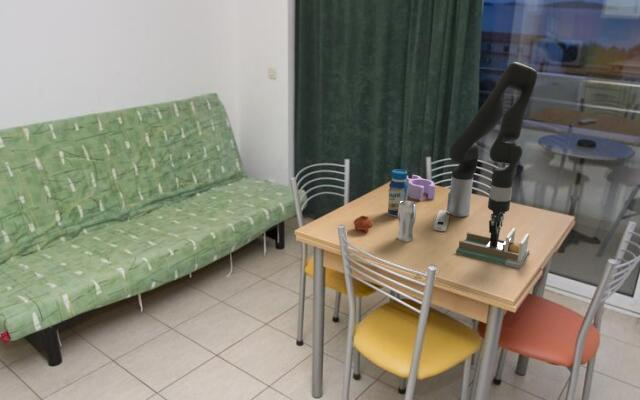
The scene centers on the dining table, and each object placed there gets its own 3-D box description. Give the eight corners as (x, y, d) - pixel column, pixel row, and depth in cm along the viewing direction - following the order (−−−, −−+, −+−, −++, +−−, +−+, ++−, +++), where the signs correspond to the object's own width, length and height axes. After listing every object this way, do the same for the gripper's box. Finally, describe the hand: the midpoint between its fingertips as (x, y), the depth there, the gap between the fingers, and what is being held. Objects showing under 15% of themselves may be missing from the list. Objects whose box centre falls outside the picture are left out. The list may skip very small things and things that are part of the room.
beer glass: (403, 243, 203) (405, 207, 198) (392, 236, 209) (395, 202, 204) (417, 240, 206) (420, 204, 201) (407, 233, 212) (409, 199, 207)
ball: (521, 252, 188) (513, 258, 190) (524, 248, 191) (516, 254, 193) (513, 243, 189) (505, 249, 191) (516, 240, 192) (508, 246, 194)
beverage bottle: (410, 214, 232) (413, 172, 225) (396, 218, 228) (398, 175, 221) (397, 209, 239) (400, 167, 232) (383, 212, 234) (385, 170, 227)
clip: (397, 189, 266) (398, 176, 264) (419, 186, 270) (420, 174, 268) (416, 202, 248) (417, 188, 246) (439, 199, 252) (440, 185, 250)
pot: (358, 224, 221) (362, 210, 218) (373, 232, 217) (377, 218, 214) (348, 229, 214) (352, 215, 211) (363, 238, 211) (368, 224, 208)
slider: (485, 250, 194) (488, 224, 190) (490, 243, 199) (493, 218, 196) (504, 255, 190) (508, 228, 187) (509, 248, 196) (513, 222, 192)
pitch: (456, 253, 195) (458, 229, 192) (469, 238, 208) (471, 216, 205) (519, 268, 184) (523, 244, 181) (529, 252, 197) (532, 229, 193)
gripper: (494, 189, 196) (489, 232, 202) (484, 200, 185) (478, 244, 191) (515, 193, 192) (509, 236, 198) (505, 204, 181) (499, 249, 187)
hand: (494, 240), depth 194 cm, fingers closed on slider, 3 cm apart
